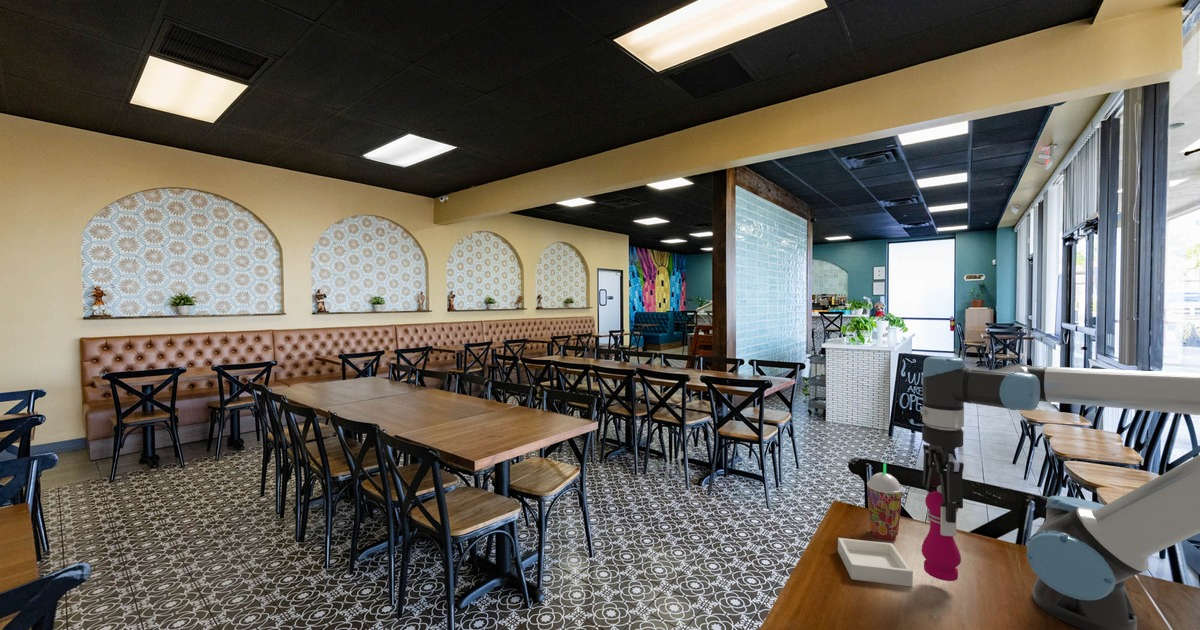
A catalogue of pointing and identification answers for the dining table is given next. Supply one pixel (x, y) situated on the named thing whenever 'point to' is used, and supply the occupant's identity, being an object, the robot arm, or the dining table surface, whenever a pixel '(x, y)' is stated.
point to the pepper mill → (939, 543)
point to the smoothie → (884, 505)
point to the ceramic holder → (874, 562)
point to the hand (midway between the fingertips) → (941, 527)
